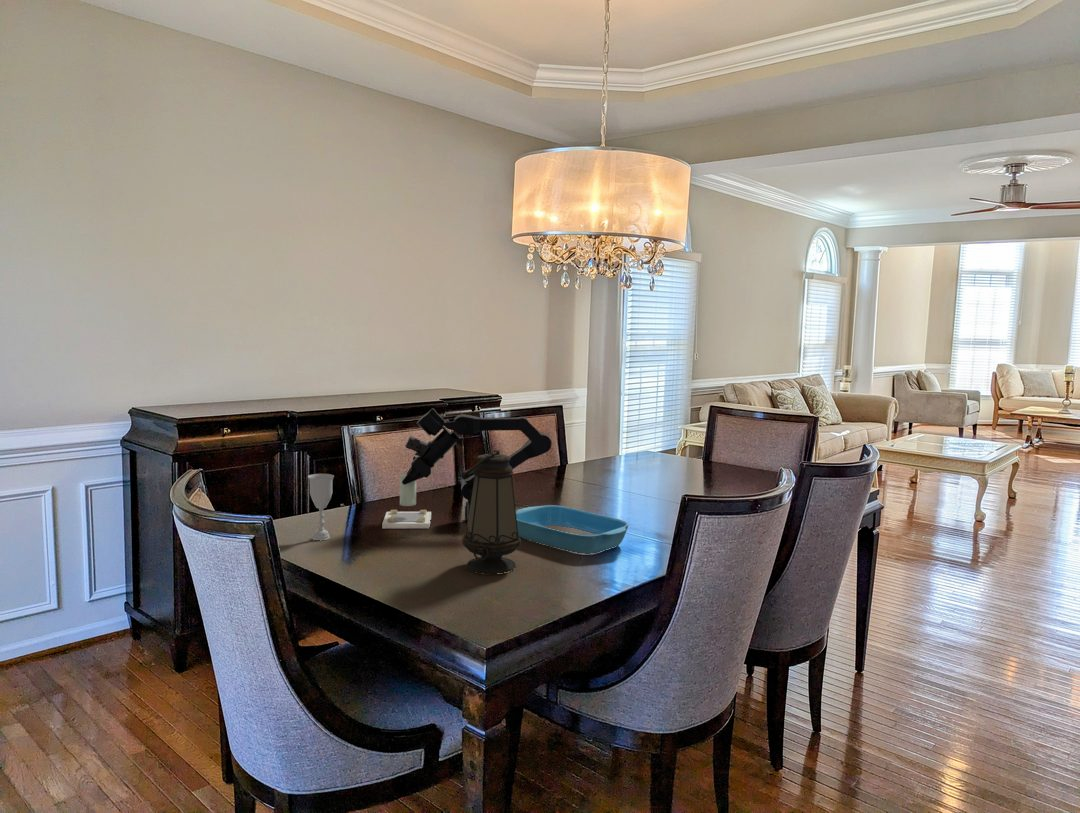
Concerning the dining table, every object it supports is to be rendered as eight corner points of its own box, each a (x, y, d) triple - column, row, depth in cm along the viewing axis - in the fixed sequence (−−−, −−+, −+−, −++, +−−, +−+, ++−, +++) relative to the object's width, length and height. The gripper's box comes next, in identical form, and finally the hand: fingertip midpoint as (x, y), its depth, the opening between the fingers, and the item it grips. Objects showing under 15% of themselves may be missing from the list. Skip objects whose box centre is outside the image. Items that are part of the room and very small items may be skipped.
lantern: (509, 582, 176) (512, 459, 173) (450, 574, 180) (452, 455, 176) (529, 559, 194) (533, 447, 190) (475, 552, 197) (478, 443, 194)
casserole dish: (495, 536, 215) (496, 512, 214) (545, 522, 231) (546, 500, 231) (594, 566, 190) (595, 539, 190) (642, 548, 207) (643, 523, 206)
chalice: (339, 537, 208) (339, 475, 206) (325, 543, 202) (324, 479, 200) (317, 533, 210) (317, 472, 208) (302, 540, 204) (302, 477, 202)
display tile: (431, 516, 233) (431, 508, 233) (429, 528, 220) (429, 520, 219) (386, 516, 232) (386, 508, 231) (382, 528, 218) (382, 520, 218)
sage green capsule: (417, 505, 224) (417, 476, 223) (401, 506, 222) (401, 477, 221) (414, 501, 228) (414, 473, 227) (398, 502, 226) (398, 474, 225)
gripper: (422, 423, 232) (387, 457, 232) (419, 432, 214) (381, 469, 214) (447, 448, 234) (412, 482, 234) (446, 458, 215) (408, 495, 215)
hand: (403, 481), depth 224 cm, fingers closed on sage green capsule, 5 cm apart
